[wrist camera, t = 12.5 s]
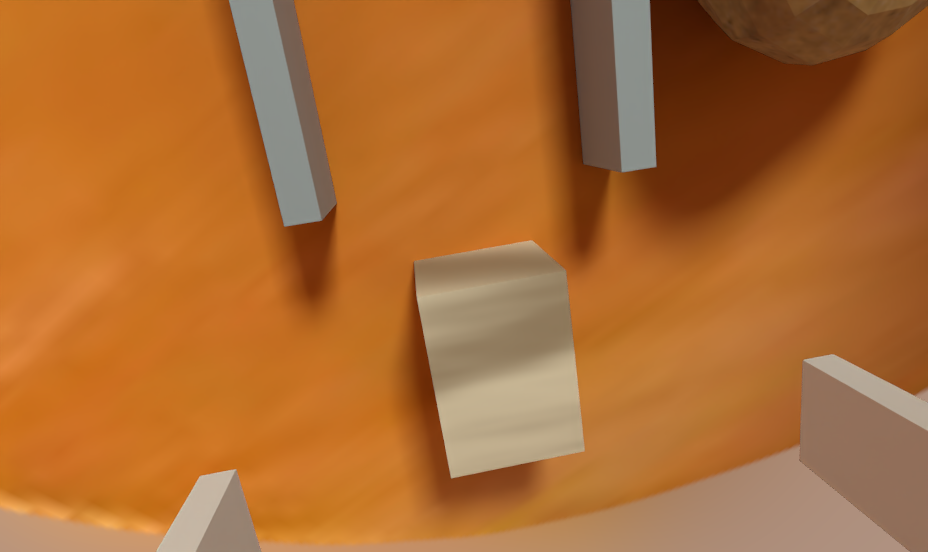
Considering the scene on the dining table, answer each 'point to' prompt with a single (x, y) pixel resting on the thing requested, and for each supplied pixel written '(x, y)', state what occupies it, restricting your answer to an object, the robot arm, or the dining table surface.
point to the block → (500, 356)
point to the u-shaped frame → (298, 128)
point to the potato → (810, 25)
